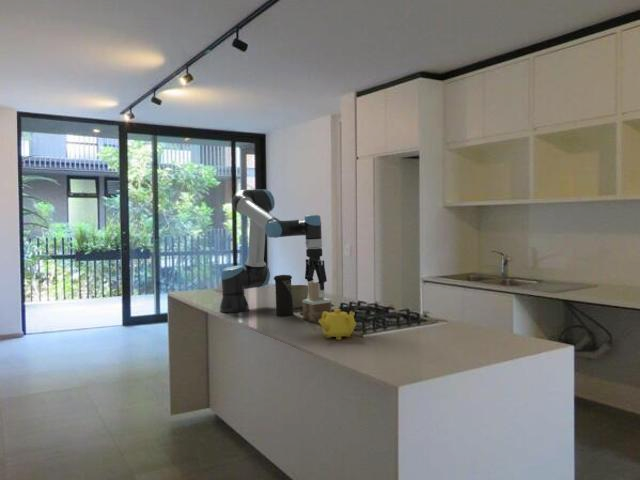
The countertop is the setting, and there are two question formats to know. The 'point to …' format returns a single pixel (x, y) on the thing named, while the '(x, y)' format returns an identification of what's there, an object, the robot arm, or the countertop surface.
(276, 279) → the container
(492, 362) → the countertop surface
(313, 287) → the beige block on base
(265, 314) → the countertop surface
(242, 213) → the robot arm
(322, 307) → the crate
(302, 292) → the planter bowl
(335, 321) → the yellow rounded knobbed block
